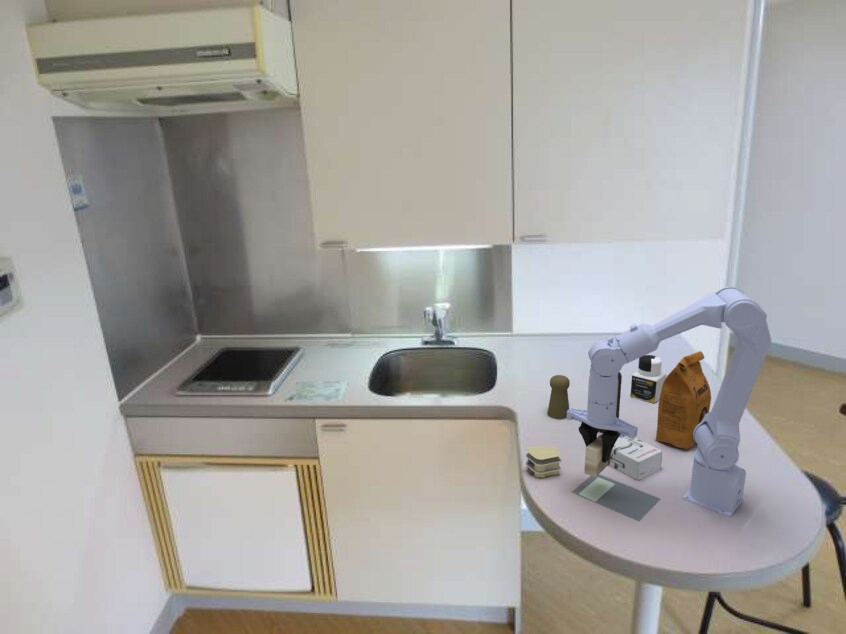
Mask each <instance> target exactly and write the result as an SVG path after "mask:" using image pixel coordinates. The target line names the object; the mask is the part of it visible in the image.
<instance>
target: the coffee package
mask: <svg viewBox="0 0 846 634" xmlns="http://www.w3.org/2000/svg"><path fill="white" fill-rule="evenodd" d="M705 358H706V357H705V355H704V353H703V351H701V350H698V351H696V352H695V353H692V354H688V355H685V356H683V357H682V358H681V359H680V361H679V362H678V363H677V364H676V366H675V367H674V368H673V369H672V370H671V372H669V374H667V375H666V379H665V380H664V382H663V386H662V389H661V394H660V399H659V400H658V401H659V402H658V407H657V424H656V425H657V426H656V436H655V440H656V441H658V442H662V443H666V444H670V445H673V446H674V447H677V448H680V449H685V450H688V449H689V448H691V447H692V446H694V445H695V444H697V443H696V442H695V440H694V437H693V432H694V429H695V428H696V426H697V425H699V424H700V423H701V422H702V420H703V419H704V416H705V414H707V413H709V412H710V408H711V403H712V392H711V387H710V385H709V381H708V380H707V377H706V375H705V374H704V372H703V367H702V365H701V362H700V361H702V360H704V359H705Z"/></svg>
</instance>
